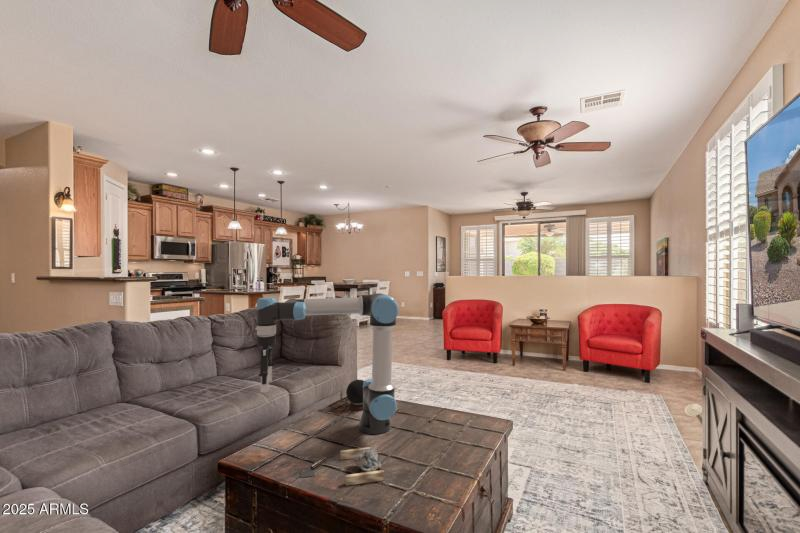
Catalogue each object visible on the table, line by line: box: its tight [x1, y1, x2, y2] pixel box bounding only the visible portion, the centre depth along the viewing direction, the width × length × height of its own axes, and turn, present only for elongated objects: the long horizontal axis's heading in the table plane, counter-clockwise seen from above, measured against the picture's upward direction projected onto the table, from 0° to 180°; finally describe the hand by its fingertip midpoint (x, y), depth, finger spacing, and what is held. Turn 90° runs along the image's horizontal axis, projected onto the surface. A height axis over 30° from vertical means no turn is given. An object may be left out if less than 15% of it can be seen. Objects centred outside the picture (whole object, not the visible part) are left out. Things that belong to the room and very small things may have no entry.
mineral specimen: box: [353, 446, 382, 472], centre depth 147 cm, size 10×8×10 cm
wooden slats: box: [339, 446, 386, 487], centre depth 146 cm, size 14×20×3 cm
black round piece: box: [345, 379, 365, 412], centre depth 209 cm, size 13×13×15 cm
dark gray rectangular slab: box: [300, 469, 315, 479], centre depth 142 cm, size 5×4×1 cm
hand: (266, 386), depth 158 cm, fingers open, 13 cm apart
